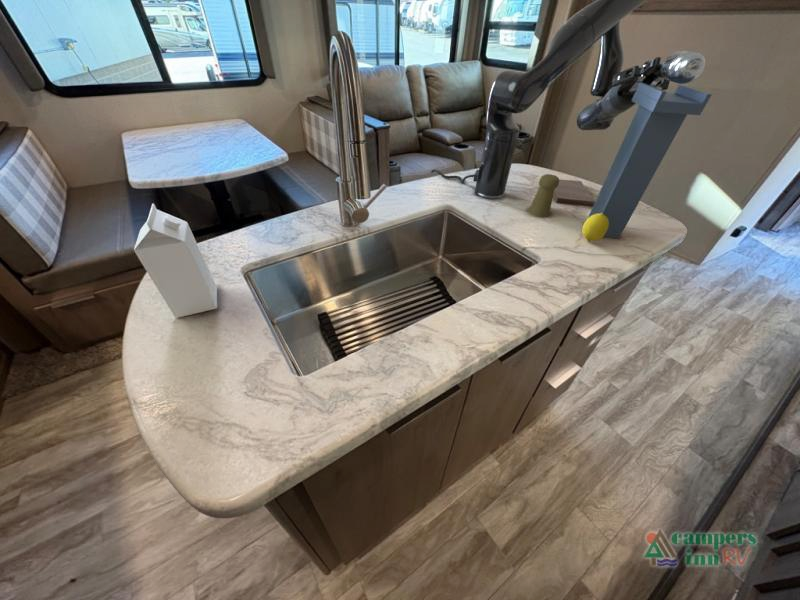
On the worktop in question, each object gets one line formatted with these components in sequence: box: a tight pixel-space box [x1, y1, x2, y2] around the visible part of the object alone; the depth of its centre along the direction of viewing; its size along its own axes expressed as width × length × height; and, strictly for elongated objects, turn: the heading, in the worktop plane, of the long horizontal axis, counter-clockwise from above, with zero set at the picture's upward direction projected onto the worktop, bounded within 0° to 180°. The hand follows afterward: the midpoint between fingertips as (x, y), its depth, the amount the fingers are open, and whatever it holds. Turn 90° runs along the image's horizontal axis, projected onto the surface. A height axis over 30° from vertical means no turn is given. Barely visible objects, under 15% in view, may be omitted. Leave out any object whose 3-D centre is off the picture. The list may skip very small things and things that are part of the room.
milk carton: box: [133, 203, 218, 319], centre depth 57 cm, size 7×7×19 cm
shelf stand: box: [587, 83, 712, 239], centre depth 78 cm, size 12×9×34 cm
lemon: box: [581, 213, 609, 242], centre depth 82 cm, size 6×6×8 cm
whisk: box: [642, 50, 706, 85], centre depth 69 cm, size 21×5×5 cm, turn 170°
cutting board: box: [553, 178, 595, 207], centre depth 108 cm, size 17×11×2 cm, turn 170°
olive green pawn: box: [528, 173, 560, 218], centre depth 93 cm, size 6×6×11 cm
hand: (665, 62), depth 71 cm, fingers closed on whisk, 2 cm apart
